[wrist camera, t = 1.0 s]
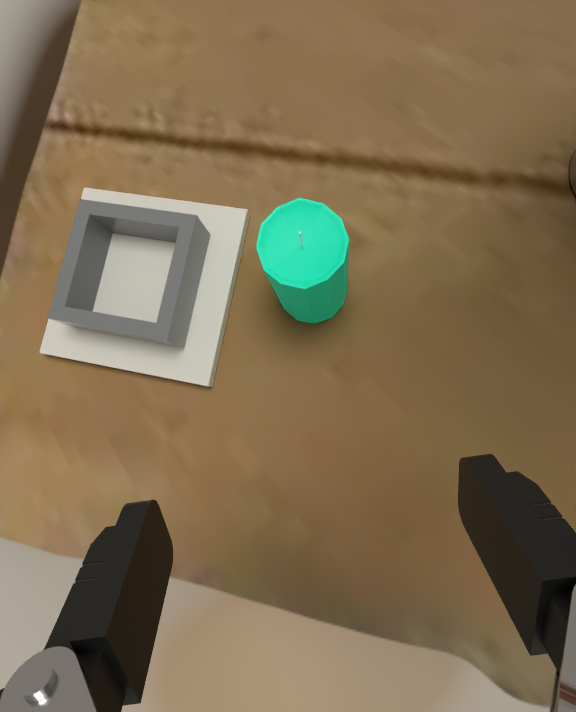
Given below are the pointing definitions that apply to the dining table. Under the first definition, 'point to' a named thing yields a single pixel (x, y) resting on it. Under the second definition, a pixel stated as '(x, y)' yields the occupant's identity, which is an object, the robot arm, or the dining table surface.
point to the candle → (306, 259)
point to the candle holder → (147, 285)
